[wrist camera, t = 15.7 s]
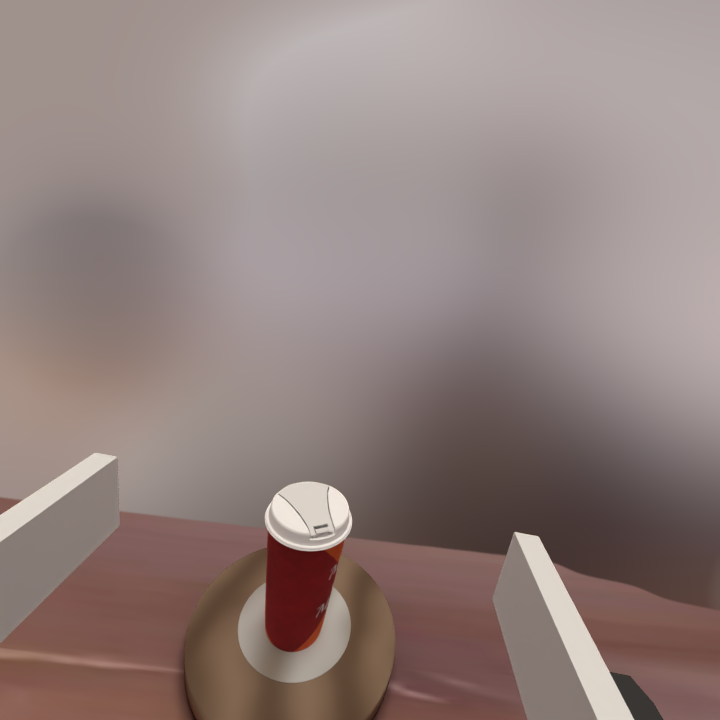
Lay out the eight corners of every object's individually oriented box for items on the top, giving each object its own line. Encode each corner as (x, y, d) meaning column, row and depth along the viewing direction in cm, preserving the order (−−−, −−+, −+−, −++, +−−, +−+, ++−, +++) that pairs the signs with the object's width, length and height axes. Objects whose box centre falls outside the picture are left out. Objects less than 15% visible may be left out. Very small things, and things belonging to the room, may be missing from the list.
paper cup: (344, 648, 35) (368, 527, 31) (261, 678, 31) (277, 546, 27) (317, 579, 41) (335, 472, 37) (247, 598, 38) (258, 482, 34)
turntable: (391, 573, 46) (394, 560, 46) (391, 796, 27) (396, 778, 27) (237, 543, 47) (238, 529, 47) (131, 739, 28) (130, 720, 27)
